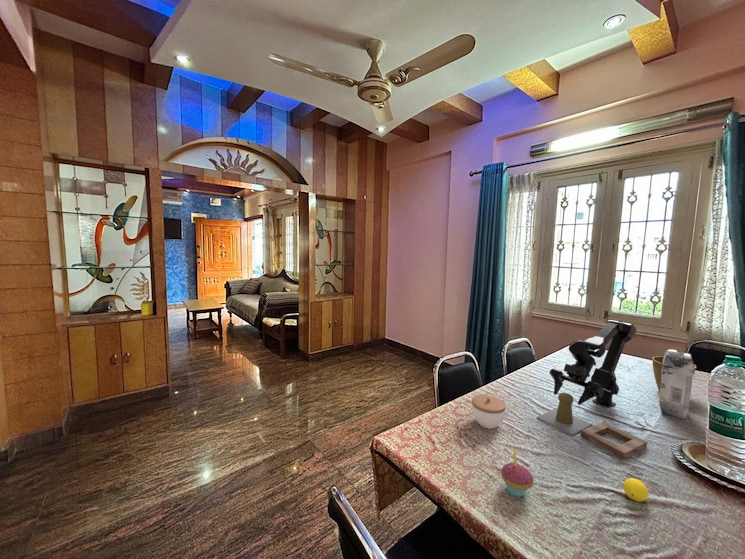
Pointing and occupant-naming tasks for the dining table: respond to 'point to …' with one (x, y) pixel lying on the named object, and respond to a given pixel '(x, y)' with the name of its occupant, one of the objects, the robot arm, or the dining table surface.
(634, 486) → the lemon
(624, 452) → the socket block
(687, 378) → the juice carton
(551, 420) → the grey mat
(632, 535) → the dining table surface
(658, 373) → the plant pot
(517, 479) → the cupcake
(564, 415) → the cork
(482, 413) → the lidded bowl
